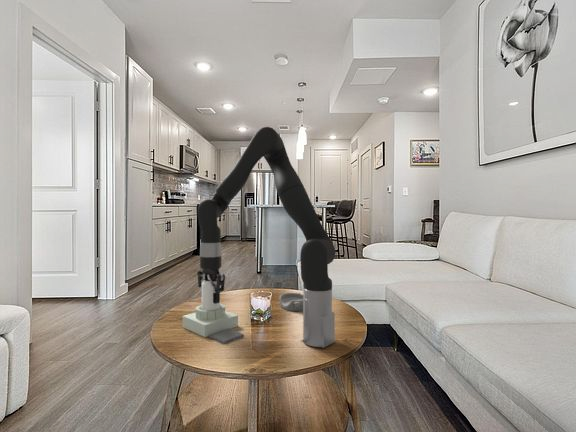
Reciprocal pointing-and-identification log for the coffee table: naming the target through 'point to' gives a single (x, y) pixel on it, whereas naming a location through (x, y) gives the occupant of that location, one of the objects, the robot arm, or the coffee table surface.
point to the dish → (291, 301)
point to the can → (208, 296)
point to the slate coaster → (226, 335)
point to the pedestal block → (209, 321)
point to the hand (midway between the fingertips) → (210, 301)
